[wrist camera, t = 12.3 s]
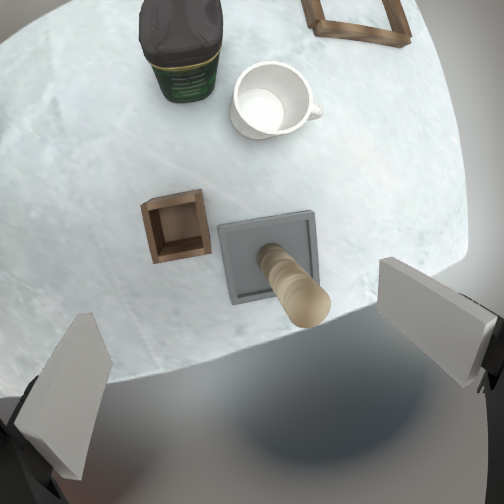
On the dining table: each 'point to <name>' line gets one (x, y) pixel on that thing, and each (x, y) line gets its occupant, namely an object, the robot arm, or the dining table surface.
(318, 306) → the dowel
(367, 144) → the dining table surface
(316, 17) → the frame
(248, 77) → the mug
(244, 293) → the tray
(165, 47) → the coffee jar
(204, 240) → the pen cup
